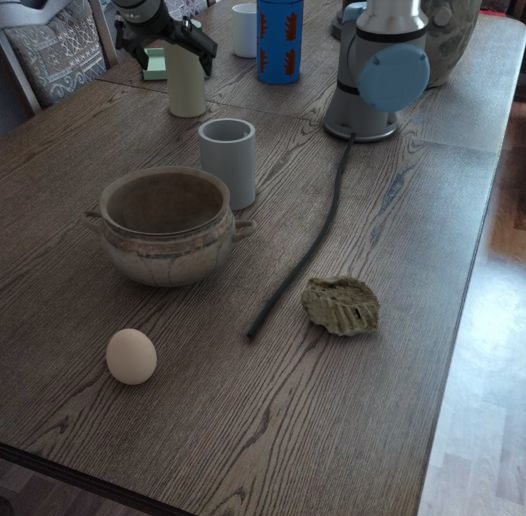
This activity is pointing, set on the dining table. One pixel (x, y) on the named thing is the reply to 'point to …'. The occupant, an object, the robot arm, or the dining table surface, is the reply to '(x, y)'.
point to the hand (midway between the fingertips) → (177, 67)
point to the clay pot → (447, 34)
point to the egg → (131, 357)
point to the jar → (184, 81)
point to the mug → (245, 30)
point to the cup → (230, 157)
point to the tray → (156, 65)
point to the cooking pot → (167, 225)
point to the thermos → (279, 40)
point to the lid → (193, 23)
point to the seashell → (341, 305)
